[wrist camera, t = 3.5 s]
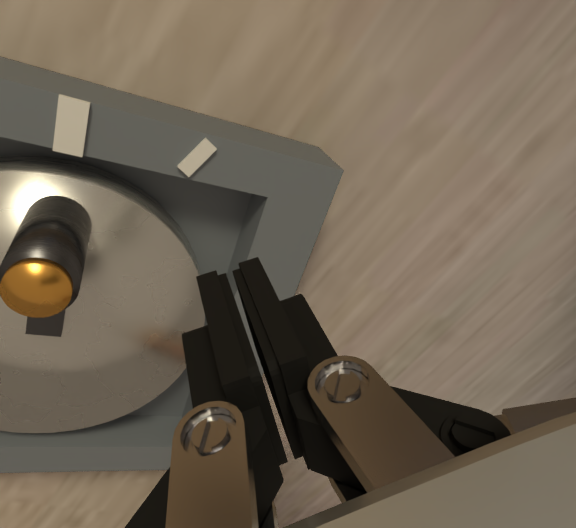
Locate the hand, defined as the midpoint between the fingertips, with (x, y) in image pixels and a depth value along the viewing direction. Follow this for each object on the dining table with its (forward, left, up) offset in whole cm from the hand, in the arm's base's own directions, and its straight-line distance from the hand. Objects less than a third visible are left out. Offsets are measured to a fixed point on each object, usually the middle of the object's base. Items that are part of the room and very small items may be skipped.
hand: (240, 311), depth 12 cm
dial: (+5, +8, -11) cm, 14 cm away
